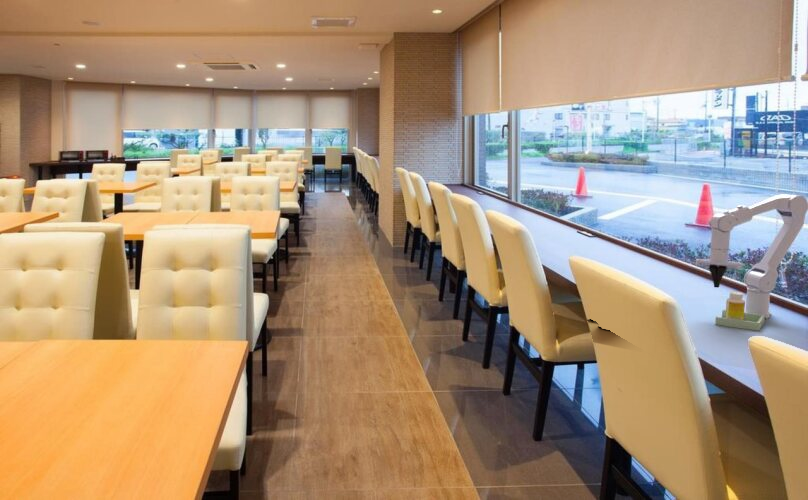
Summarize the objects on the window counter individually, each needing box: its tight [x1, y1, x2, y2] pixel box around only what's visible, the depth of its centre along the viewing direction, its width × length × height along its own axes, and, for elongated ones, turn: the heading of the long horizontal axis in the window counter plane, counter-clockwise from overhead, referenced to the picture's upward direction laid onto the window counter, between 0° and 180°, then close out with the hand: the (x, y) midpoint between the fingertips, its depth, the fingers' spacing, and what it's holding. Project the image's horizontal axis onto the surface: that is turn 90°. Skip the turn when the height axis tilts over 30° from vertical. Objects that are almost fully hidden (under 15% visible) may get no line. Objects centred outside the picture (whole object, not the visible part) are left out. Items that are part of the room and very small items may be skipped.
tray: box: [714, 309, 766, 332], centre depth 220 cm, size 13×13×2 cm
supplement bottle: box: [724, 291, 746, 321], centre depth 220 cm, size 6×6×10 cm
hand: (716, 286), depth 229 cm, fingers closed
